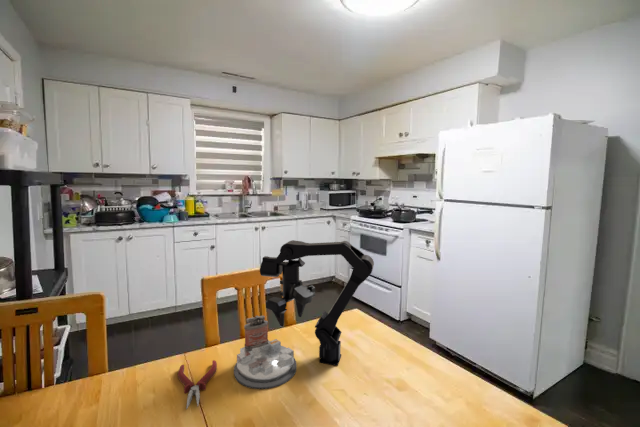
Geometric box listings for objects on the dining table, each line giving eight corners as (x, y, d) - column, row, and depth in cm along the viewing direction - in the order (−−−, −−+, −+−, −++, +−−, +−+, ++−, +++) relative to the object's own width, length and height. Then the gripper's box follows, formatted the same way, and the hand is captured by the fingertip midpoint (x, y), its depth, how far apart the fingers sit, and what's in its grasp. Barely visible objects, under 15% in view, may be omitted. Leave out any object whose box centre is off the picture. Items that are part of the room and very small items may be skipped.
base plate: (304, 356, 110) (304, 353, 110) (283, 394, 91) (283, 390, 91) (251, 348, 115) (251, 345, 115) (221, 382, 96) (221, 378, 96)
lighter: (266, 339, 110) (265, 312, 109) (269, 344, 107) (269, 316, 106) (243, 345, 106) (242, 317, 105) (246, 350, 103) (246, 321, 102)
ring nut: (273, 343, 115) (273, 333, 115) (304, 365, 102) (305, 353, 102) (226, 362, 103) (226, 350, 103) (256, 390, 90) (255, 377, 90)
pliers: (168, 416, 83) (168, 406, 83) (179, 370, 102) (179, 363, 102) (215, 407, 86) (214, 398, 86) (217, 365, 105) (217, 358, 105)
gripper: (289, 290, 97) (289, 339, 98) (326, 275, 111) (325, 318, 113) (264, 283, 103) (265, 328, 105) (301, 270, 118) (302, 310, 120)
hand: (291, 321), depth 111 cm, fingers open, 9 cm apart
